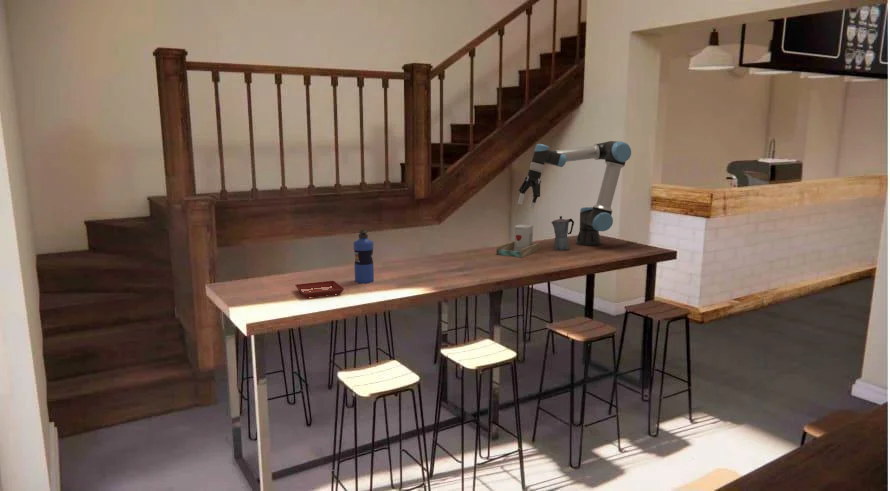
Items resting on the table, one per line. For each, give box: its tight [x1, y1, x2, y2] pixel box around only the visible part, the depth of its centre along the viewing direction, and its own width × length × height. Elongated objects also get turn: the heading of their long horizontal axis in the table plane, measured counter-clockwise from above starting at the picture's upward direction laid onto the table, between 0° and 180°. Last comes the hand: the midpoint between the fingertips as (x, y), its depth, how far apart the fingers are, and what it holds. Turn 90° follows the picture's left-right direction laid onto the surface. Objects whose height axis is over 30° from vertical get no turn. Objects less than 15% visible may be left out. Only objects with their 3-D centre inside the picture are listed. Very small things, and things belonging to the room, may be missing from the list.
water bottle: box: [353, 229, 375, 284], centre depth 302 cm, size 9×9×25 cm
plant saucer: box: [295, 280, 345, 299], centre depth 284 cm, size 18×18×3 cm
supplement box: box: [513, 224, 534, 252], centre depth 377 cm, size 9×9×15 cm
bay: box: [496, 239, 541, 258], centre depth 372 cm, size 16×24×4 cm
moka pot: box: [551, 215, 575, 251], centre depth 380 cm, size 10×15×20 cm, turn 115°
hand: (525, 206), depth 371 cm, fingers open, 13 cm apart
